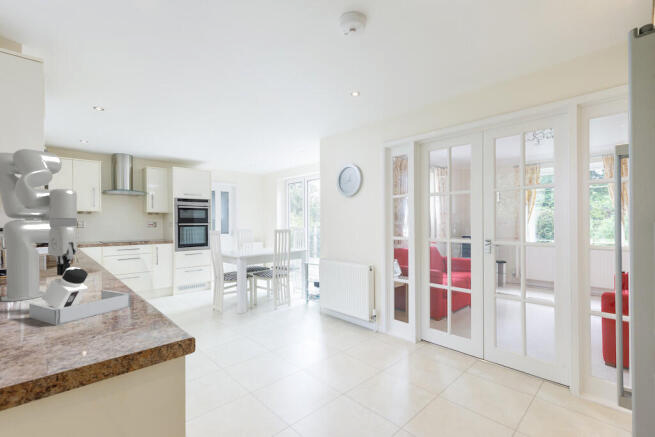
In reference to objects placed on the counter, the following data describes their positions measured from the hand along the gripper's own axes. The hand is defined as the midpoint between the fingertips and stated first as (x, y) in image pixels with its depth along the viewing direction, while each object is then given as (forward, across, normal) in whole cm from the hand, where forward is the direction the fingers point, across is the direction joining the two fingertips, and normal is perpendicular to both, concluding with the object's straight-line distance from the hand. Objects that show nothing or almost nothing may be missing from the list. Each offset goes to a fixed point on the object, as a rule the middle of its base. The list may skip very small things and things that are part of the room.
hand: (63, 274), depth 111 cm
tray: (+12, +13, 0) cm, 17 cm away
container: (+10, 0, -1) cm, 10 cm away
